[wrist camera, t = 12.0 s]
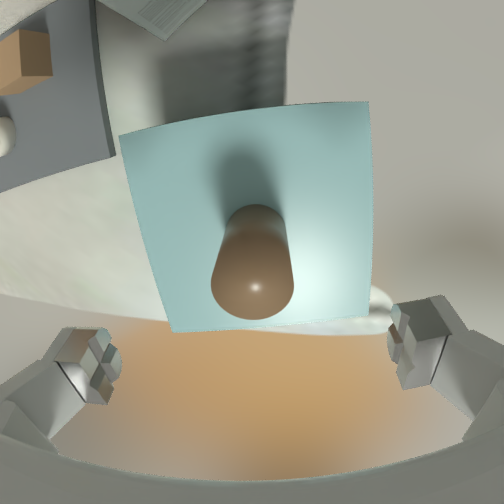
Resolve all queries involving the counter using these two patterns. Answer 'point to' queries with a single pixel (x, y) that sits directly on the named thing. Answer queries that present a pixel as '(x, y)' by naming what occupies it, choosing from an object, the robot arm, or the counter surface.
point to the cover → (257, 214)
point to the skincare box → (156, 13)
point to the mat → (52, 94)
